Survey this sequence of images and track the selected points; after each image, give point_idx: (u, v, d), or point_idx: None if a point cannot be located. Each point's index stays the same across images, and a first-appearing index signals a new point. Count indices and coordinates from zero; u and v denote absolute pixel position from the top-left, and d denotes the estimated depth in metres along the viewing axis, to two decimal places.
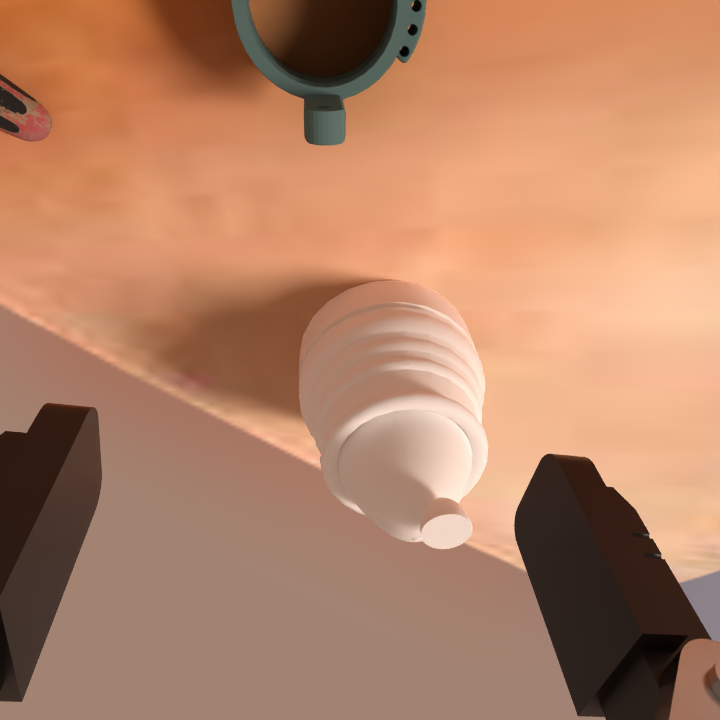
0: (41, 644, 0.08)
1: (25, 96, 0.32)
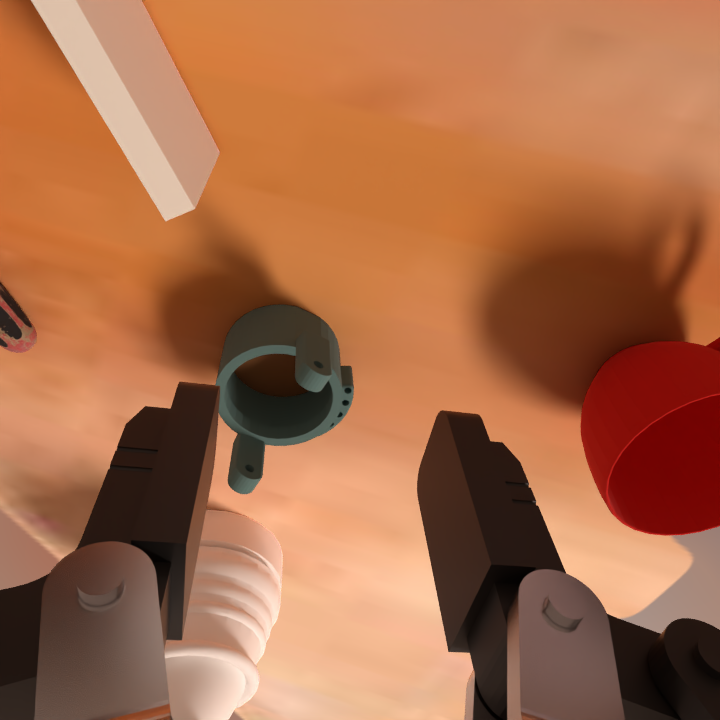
0: (190, 593, 0.09)
1: (25, 323, 0.38)
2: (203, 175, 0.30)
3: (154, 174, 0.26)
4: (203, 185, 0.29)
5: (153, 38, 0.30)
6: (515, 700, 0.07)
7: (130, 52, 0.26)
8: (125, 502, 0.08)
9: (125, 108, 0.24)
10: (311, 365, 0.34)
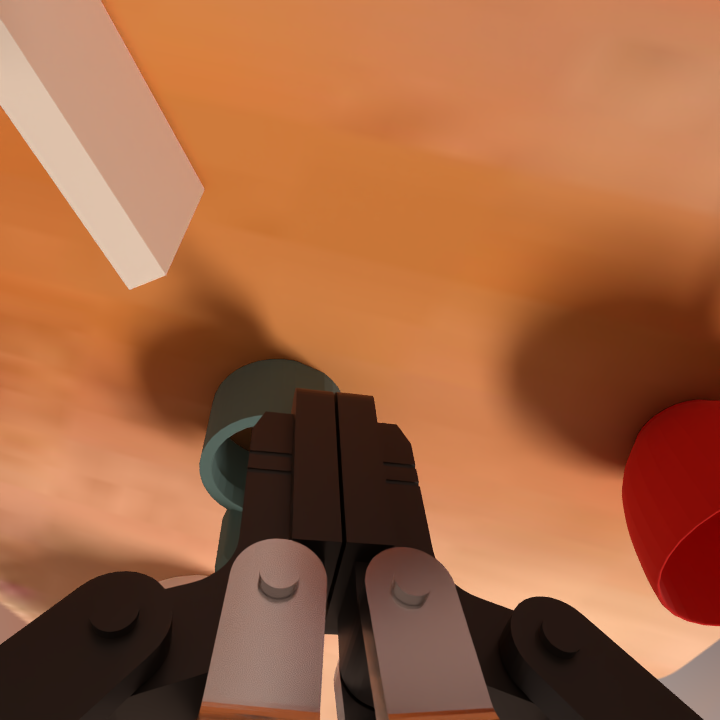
0: None
1: None
2: (180, 225, 0.24)
3: (113, 234, 0.20)
4: (180, 239, 0.24)
5: (119, 55, 0.24)
6: (380, 701, 0.07)
7: (82, 78, 0.20)
8: (270, 503, 0.09)
9: (71, 153, 0.19)
10: None
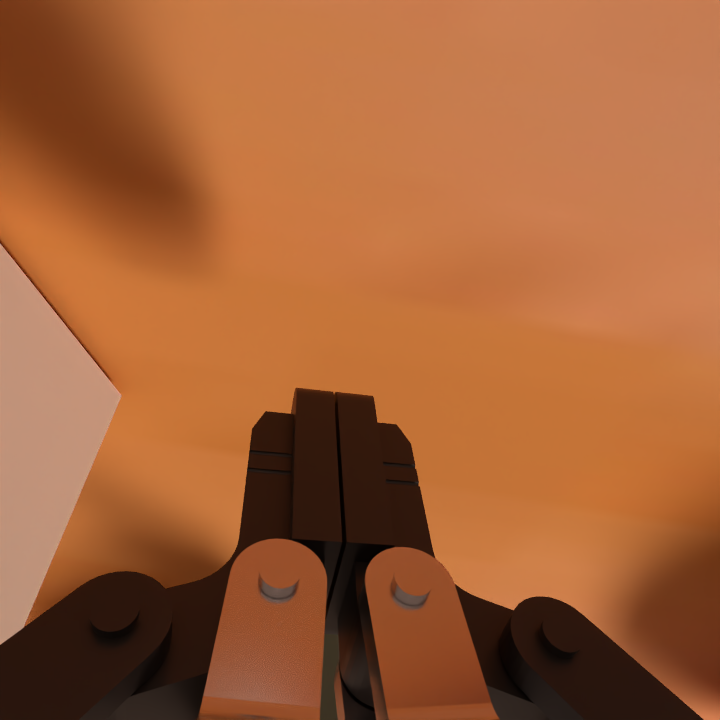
0: None
1: None
2: (34, 561, 0.11)
3: None
4: (26, 609, 0.10)
5: None
6: (381, 701, 0.07)
7: None
8: (270, 502, 0.09)
9: None
10: None
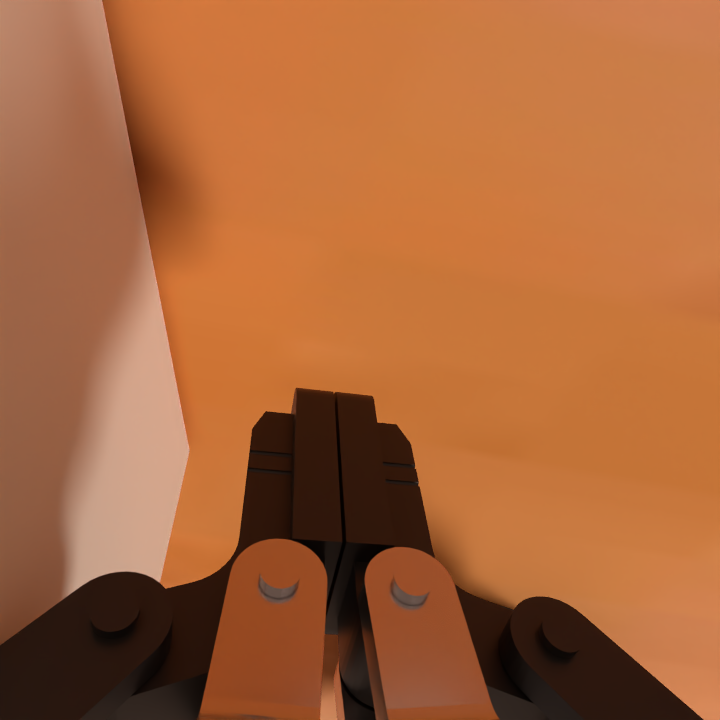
0: None
1: None
2: None
3: None
4: None
5: (133, 268, 0.12)
6: (380, 701, 0.07)
7: (54, 423, 0.08)
8: (270, 503, 0.09)
9: None
10: None
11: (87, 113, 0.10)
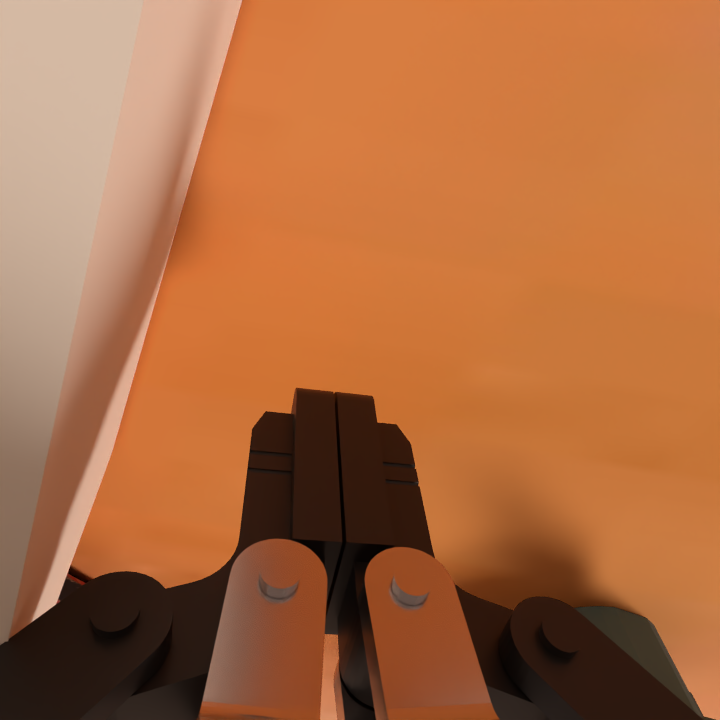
0: None
1: None
2: None
3: None
4: None
5: (155, 287, 0.12)
6: (380, 701, 0.07)
7: (90, 445, 0.09)
8: (270, 502, 0.09)
9: None
10: None
11: (190, 156, 0.10)
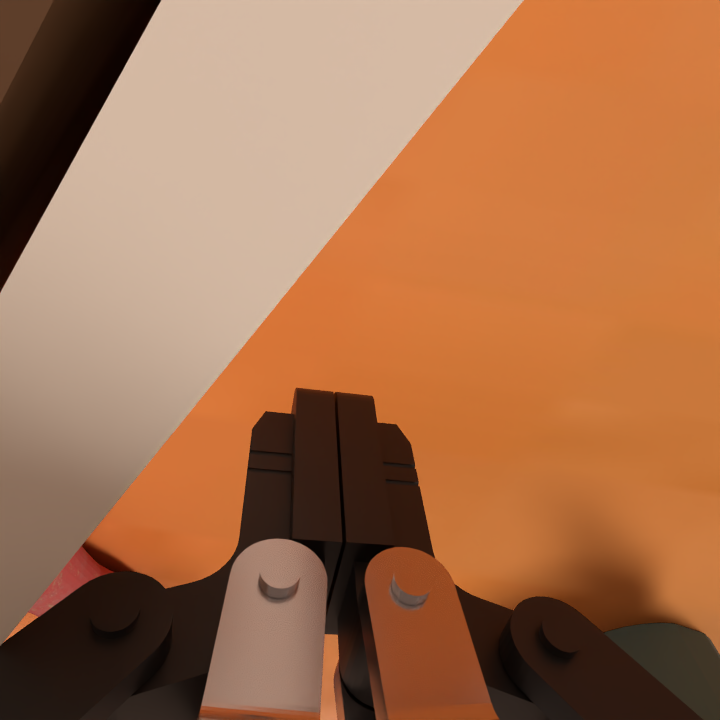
0: None
1: None
2: None
3: None
4: None
5: None
6: (380, 700, 0.07)
7: None
8: (270, 502, 0.09)
9: None
10: None
11: None
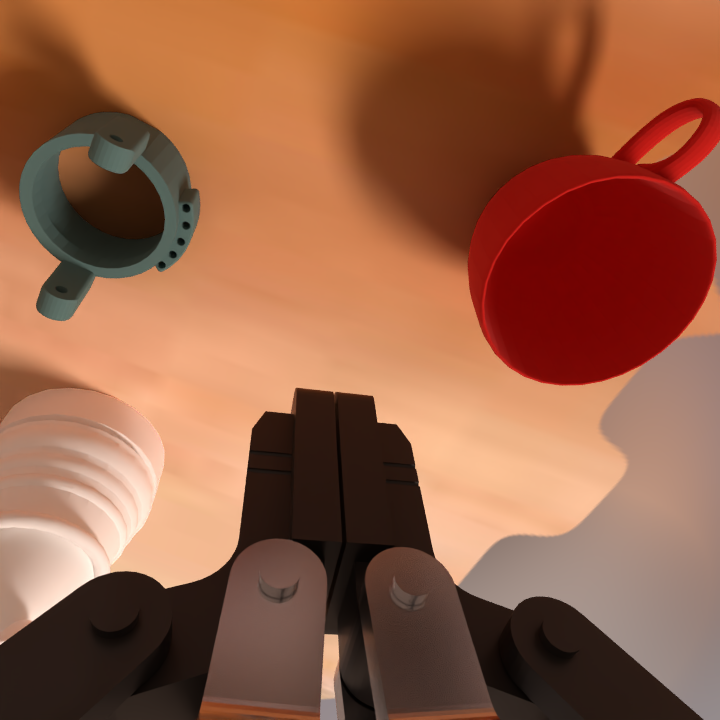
0: None
1: None
2: None
3: None
4: None
5: None
6: (380, 701, 0.07)
7: None
8: (270, 502, 0.09)
9: None
10: (104, 135, 0.28)
11: None
